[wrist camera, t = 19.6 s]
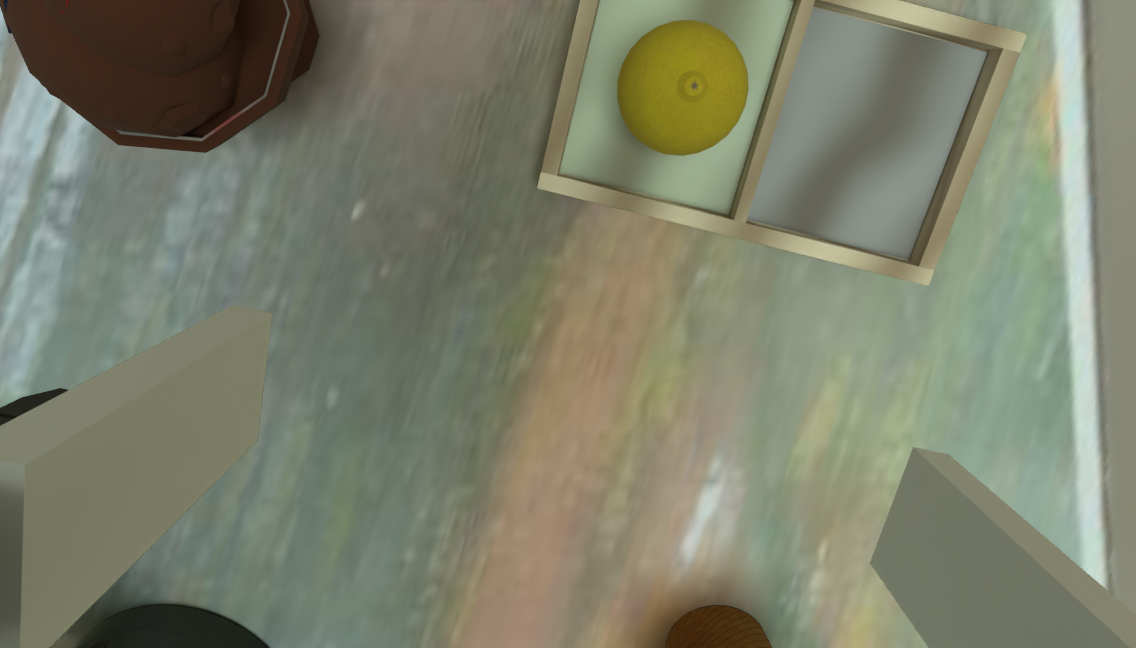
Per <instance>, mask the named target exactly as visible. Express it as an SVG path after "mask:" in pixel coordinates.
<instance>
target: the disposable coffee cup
mask: <svg viewBox="0 0 1136 648" xmlns="http://www.w3.org/2000/svg"><path fill="white" fill-rule="evenodd" d="M666 648H772V646H771V644H770V643H769V640H768V639H767V637H766V635H765V632H764V631H763V629H762V627H761V625H760V624H759V623H758V622H757V621H756V620H755V619H754V618H753V617H751V616H750V615H749V614H747V613H745V612H743V611H741V610H739V609H736V608H732V607H728V606H710V607H703V608H700V609H697V610H695V611H692V612H690V613H688V614H687V615H685V616H683V617H682V618H681V619H680V620H679V621H678V622H677V623H676V624H675V625H674V626H673V628H672V629H671V631H670V632H669V635H668V638H667V640H666Z"/></svg>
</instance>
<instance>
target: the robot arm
mask: <svg viewBox="0 0 1136 648" xmlns="http://www.w3.org/2000/svg"><path fill="white" fill-rule="evenodd" d="M271 320H272V313H269V312H264V311H259V310H254V309H250V308H245V307H240V306H235V305H232V306H230V307H228V308H226V309H224V310H222V311H221V312H219V313H217V314H215V315H213V316H211V317H209V318H207V319H205V320H203V321H201V322H199V323H197V324H196V325H194V326H192V327H190V328H188V329H186V330H184V331H182V332H180V333H178V334H176V335H174V336H172V337H170V338H169V339H167V340H165V341H163V342H161V343H159V344H157V345H155V346H153V347H151V348H149V349H147V350H145V351H144V352H142V353H140V354H138V355H136V356H134V357H132V358H130V359H128V360H126V361H124V362H122V363H120V364H119V365H117V366H115V367H113V368H111V369H109V370H107V371H105V372H103V373H101V374H99V375H97V376H95V377H93V378H92V379H90V380H88V381H86V382H84V383H82V384H80V385H78V386H76V387H74V388H72V389H70V390H66V389H61V388H59V389H55V390H51V391H47V392H43V393H39V394H35V395H30V396H26V397H22V398H20V399H18V400H16V401H14V402H12V403H10V404H8V405H6V406H3V407H1V408H0V648H50V647H51V646H52V645H53V644H54V643H55V642H56V641H57V640H58V639H59V638H60V637H61V636H62V635H63V634H64V633H65V632H66V631H67V630H68V629H69V628H70V627H71V626H72V625H73V624H74V623H75V622H76V621H77V620H78V619H79V618H80V617H81V616H82V615H83V614H84V613H85V612H86V611H87V610H88V609H89V608H90V607H91V606H92V605H93V604H94V603H95V602H96V601H97V600H98V599H99V598H100V597H101V596H102V595H103V594H104V593H105V592H106V591H107V590H108V589H109V588H110V587H111V586H112V585H113V584H114V583H115V582H116V581H117V580H118V579H119V578H120V577H121V576H122V575H123V574H124V573H125V572H126V571H127V570H128V569H129V568H130V567H131V566H132V565H133V564H134V563H135V562H136V561H137V560H138V559H139V558H140V557H141V556H142V555H143V554H144V553H145V552H146V551H147V550H148V549H149V548H150V547H151V546H152V545H153V544H154V543H155V542H156V541H157V540H158V539H159V538H160V537H161V536H162V535H163V534H164V533H165V532H166V531H167V530H168V529H169V528H170V527H171V526H172V525H173V524H174V523H175V522H176V521H177V520H178V519H179V518H180V517H181V516H182V515H183V514H184V513H185V512H186V511H187V510H188V509H189V508H190V507H191V506H192V505H193V504H194V503H195V502H196V501H197V500H198V499H199V498H200V497H201V496H202V495H203V494H204V493H205V492H206V491H207V490H209V489H210V488H211V487H212V486H213V485H214V484H215V483H216V482H217V481H218V480H219V479H220V478H221V477H222V476H223V475H224V474H225V473H226V472H227V471H228V470H229V469H230V468H231V467H232V466H233V465H234V464H235V463H236V462H237V461H238V460H239V459H240V458H241V457H242V456H243V455H244V454H245V453H246V452H247V451H248V450H249V449H250V448H251V447H252V446H253V445H254V444H255V443H256V442H257V440H258V431H259V423H260V414H261V406H262V397H263V388H264V380H265V371H266V363H267V354H268V346H269V337H270V329H271ZM870 564H871V565H872V567H873V568H874V570H875V571H876V572H877V574H878V575H879V577H880V578H881V580H882V581H883V583H884V584H885V585H886V587H887V588H888V590H889V591H890V593H891V594H892V596H893V597H894V598H895V600H896V601H897V603H898V604H899V606H900V607H901V609H902V610H903V611H904V613H905V614H906V616H907V617H908V619H909V620H910V622H911V623H912V624H913V626H914V627H915V629H916V630H917V632H918V633H919V635H920V636H921V637H922V639H923V640H924V642H925V643H926V645H927V646H928V648H1136V615H1135V614H1134V613H1133V612H1132V611H1130V610H1129V609H1128V608H1127V607H1126V606H1125V605H1124V604H1122V603H1121V602H1120V601H1119V600H1118V599H1117V598H1115V597H1114V596H1113V595H1112V594H1111V593H1110V592H1108V591H1107V590H1106V589H1105V588H1104V587H1103V586H1101V585H1100V584H1099V583H1098V582H1097V581H1096V580H1094V579H1093V578H1092V577H1091V576H1090V575H1089V574H1087V573H1086V572H1085V571H1084V570H1083V569H1082V568H1080V567H1079V566H1078V565H1077V564H1076V563H1075V562H1073V561H1072V560H1071V559H1070V558H1069V557H1068V556H1066V555H1065V554H1064V553H1063V552H1062V551H1061V550H1059V549H1058V548H1057V547H1056V546H1055V545H1054V544H1052V543H1051V542H1050V541H1049V540H1048V539H1047V538H1045V537H1044V536H1043V535H1042V534H1041V533H1040V532H1038V531H1037V530H1036V529H1035V528H1034V527H1033V526H1031V525H1030V524H1029V523H1028V522H1027V521H1026V520H1024V519H1023V518H1022V517H1021V516H1020V515H1019V514H1017V513H1016V512H1015V511H1014V510H1013V509H1012V508H1010V507H1009V506H1008V505H1007V504H1006V503H1005V502H1003V501H1002V500H1001V499H1000V498H999V497H998V496H996V495H995V494H994V493H993V492H992V491H991V490H989V489H988V488H987V487H986V486H985V485H984V484H982V483H981V482H980V481H979V480H978V479H977V478H975V477H974V476H973V475H972V474H971V473H970V472H968V471H967V470H966V469H965V468H964V467H963V466H961V465H960V464H959V463H958V462H957V461H956V460H954V459H953V458H952V457H951V456H950V455H948V454H943V453H939V452H934V451H929V450H924V449H920V448H915V447H913V449H912V452H911V455H910V457H909V460H908V463H907V465H906V468H905V471H904V473H903V476H902V479H901V481H900V484H899V487H898V489H897V492H896V495H895V498H894V500H893V503H892V506H891V508H890V511H889V514H888V516H887V519H886V522H885V524H884V527H883V530H882V532H881V535H880V538H879V541H878V543H877V546H876V549H875V551H874V554H873V557H872V559H871V562H870ZM74 648H266V647H265V646H264V645H263V644H262V643H261V642H260V641H259V640H257V639H256V638H255V637H254V636H252V635H251V634H250V633H248V632H247V631H245V630H244V629H242V628H240V627H239V626H237V625H235V624H233V623H232V622H230V621H228V620H225V619H223V618H221V617H219V616H216V615H213V614H211V613H207V612H204V611H201V610H197V609H192V608H187V607H180V606H169V605H157V606H146V607H139V608H135V609H131V610H127V611H124V612H121V613H119V614H116V615H114V616H112V617H110V618H108V619H106V620H104V621H103V622H101V623H100V624H98V625H97V626H96V627H95V628H93V629H92V630H91V631H90V632H89V633H88V634H87V635H86V636H85V637H84V638H83V639H82V640H81V641H80V642H79V643H78V644H77V645H76V646H75V647H74Z"/></svg>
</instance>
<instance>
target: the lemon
mask: <svg viewBox="0 0 1136 648" xmlns="http://www.w3.org/2000/svg"><path fill="white" fill-rule="evenodd" d="M748 90H749V87H748V72H747V68H746V65H745V62H744V58H743V56H742V54H741V53H740V51H739V49H738V48H737V46H736V44H735V43H734V42H733V41H732V40H731V39H730V38H729V37H728V36H727V35H726V34H725V33H724V32H722V31H721V30H719V29H717V28H715V27H713V26H711V25H710V24H708V23H703V22H699V21H694V20H680V21H672V22H669V23H666V24H663V25H660V26H657V27H656V28H654V29H653V30H651V31H650V32H648V33H646V34H645V35H643V36H642V37H641V38H640V39H639V40H638V41H637V42H636V44H635V45H634V46H633V47H632V48H631V49H630V51H629V53H628V54H627V56H626V58H625V60H624V62H623V64H622V67H621V70H620V74H619V78H618V84H617V99H618V104H619V108H620V113H621V115H622V117H623V120H624V122H625V124H626V126H627V128H628V129H629V130H630V131H631V133H632V134H633V135H634V136H635V137H636V138H637V139H638V141H640V142H641V143H643V144H644V145H646V146H647V147H649V148H650V149H652V150H655V151H658V152H660V153H663V154H666V155H679V156H685V155H690V154H696V153H700V152H702V151H704V150H706V149H709V148H711V147H713V146H715V145H716V144H717V143H719V142H720V141H721V140H722V139H724V138H725V137H726V136H727V135H728V134H729V133H730V132H731V130H732V129H733V128H734V126H735V125H736V124H737V123H738V121H739V119H740V117H741V114H742V112H743V110H744V108H745V105H746V100H747V95H748Z"/></svg>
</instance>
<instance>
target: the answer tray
mask: <svg viewBox="0 0 1136 648" xmlns="http://www.w3.org/2000/svg"><path fill="white" fill-rule="evenodd" d="M680 20H694V21H699V22H703V23H708V24H710V25H711V26H713V27H715V28H717V29H719V30H721V31H722V32H724V33H725V34H726V35H727V36H728V37H729V38H730V39H731V40H732V41H733V42H734V43H735V44H736V46H737V48H738V49H739V51H740V53H741V54H742V56H743V58H744V62H745V65H746V68H747V72H748V87H749V90H748V95H747V100H746V105H745V108H744V110H743V112H742V114H741V117H740V119H739V121H738V123H737V124H736V125H735V126H734V128H733V129H732V130H731V132H730V133H729V134H728V135H727V136H726V137H725V138H724V139H722V140H721V141H720V142H719V143H717V144H716V145H715V146H713V147H711V148H709V149H706V150H704V151H702V152H700V153H696V154H690V155H685V156H679V155H666V154H663V153H660V152H658V151H655V150H652V149H650V148H649V147H647V146H646V145H644V144H643V143H641V142H640V141H638V139H637V138H636V137H635V136H634V135H633V134H632V133H631V131H630V130H629V129H628V128H627V126H626V124H625V122H624V120H623V117H622V115H621V113H620V108H619V104H618V99H617V84H618V78H619V74H620V70H621V67H622V64H623V62H624V60H625V58H626V56H627V54H628V53H629V51H630V49H631V48H632V47H633V46H634V45H635V44H636V42H637V41H638V40H639V39H640V38H641V37H642V36H643V35H645V34H646V33H648V32H650V31H651V30H653V29H654V28H656V27H657V26H660V25H663V24H666V23H669V22H672V21H680ZM1026 36H1027V34H1024V33H1020V32H1016V31H1013V30H1009V29H1005V28H1001V27H997V26H994V25H990V24H986V23H982V22H978V21H975V20H971V19H967V18H963V17H959V16H956V15H952V14H948V13H944V12H940V11H937V10H933V9H929V8H925V7H922V6H918V5H914V4H910V3H906V2H903V1H899V0H580V3H579V7H578V12H577V16H576V20H575V25H574V29H573V34H572V38H571V42H570V47H569V51H568V55H567V60H566V64H565V69H564V73H563V77H562V82H561V86H560V90H559V95H558V99H557V104H556V108H555V112H554V117H553V121H552V125H551V130H550V134H549V139H548V143H547V147H546V152H545V156H544V160H543V165H542V169H541V174H540V178H539V182H538V187H537V188H538V189H542V190H546V191H550V192H554V193H558V194H562V195H566V196H570V197H574V198H578V199H582V200H586V201H590V202H594V203H598V204H602V205H606V206H610V207H614V208H618V209H622V210H626V211H630V212H634V213H638V214H642V215H646V216H650V217H654V218H658V219H662V220H666V221H670V222H675V223H679V224H683V225H687V226H691V227H695V228H699V229H703V230H707V231H711V232H715V233H719V234H723V235H727V236H731V237H735V238H739V239H743V240H747V241H751V242H755V243H759V244H763V245H767V246H771V247H775V248H779V249H783V250H787V251H791V252H795V253H799V254H803V255H807V256H811V257H815V258H819V259H823V260H827V261H831V262H835V263H839V264H843V265H847V266H851V267H855V268H859V269H863V270H867V271H871V272H875V273H879V274H883V275H887V276H891V277H895V278H899V279H903V280H907V281H911V282H915V283H919V284H923V285H927V286H929V283H930V281H931V278H932V275H933V273H934V270H935V268H936V265H937V263H938V260H939V258H940V255H941V253H942V250H943V247H944V245H945V242H946V240H947V237H948V235H949V232H950V230H951V227H952V225H953V222H954V219H955V217H956V214H957V212H958V209H959V207H960V204H961V202H962V199H963V197H964V194H965V191H966V189H967V186H968V184H969V181H970V179H971V176H972V174H973V171H974V169H975V166H976V164H977V161H978V158H979V156H980V153H981V151H982V148H983V146H984V143H985V141H986V138H987V136H988V133H989V130H990V128H991V125H992V123H993V120H994V118H995V115H996V113H997V110H998V108H999V105H1000V102H1001V100H1002V97H1003V95H1004V92H1005V90H1006V87H1007V85H1008V82H1009V80H1010V77H1011V74H1012V72H1013V69H1014V67H1015V64H1016V62H1017V59H1018V57H1019V54H1020V52H1021V49H1022V46H1023V44H1024V41H1025V39H1026Z"/></svg>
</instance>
